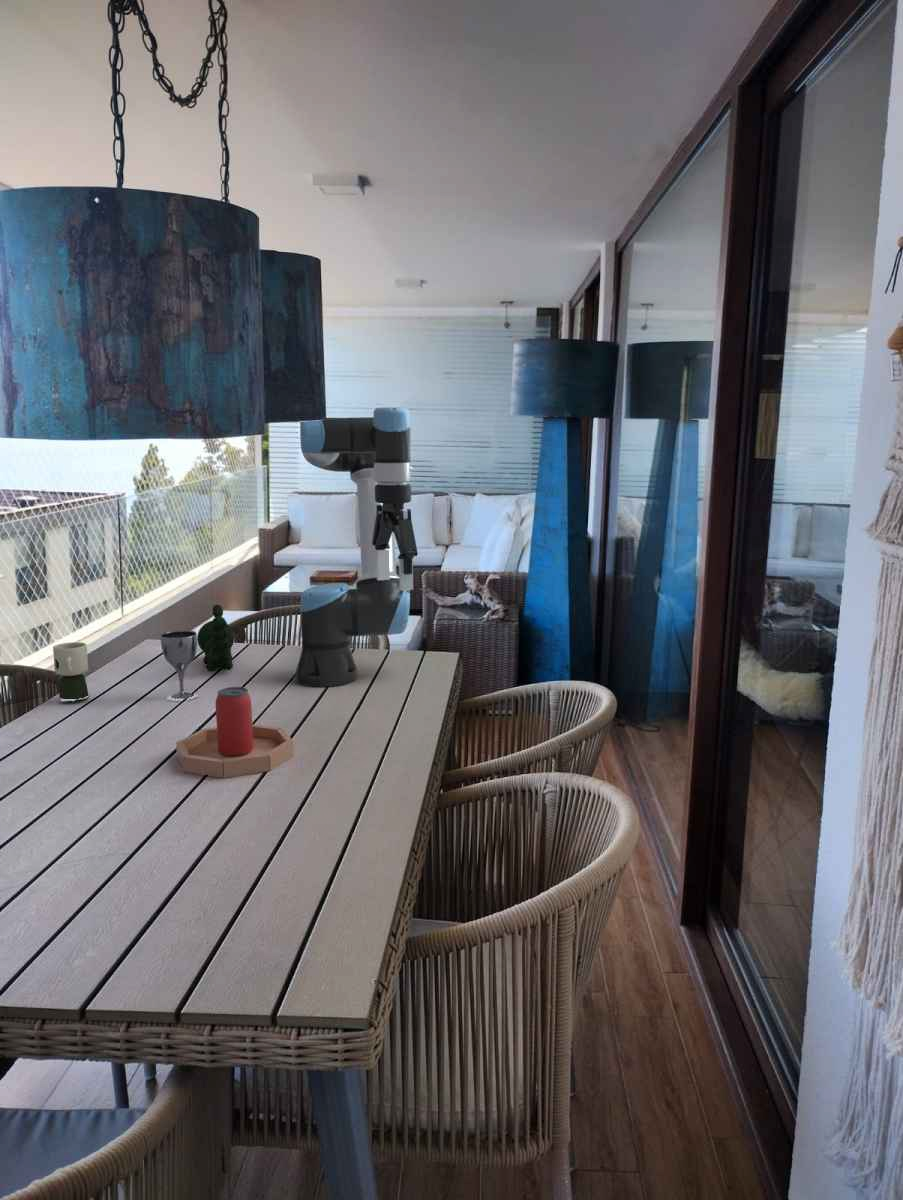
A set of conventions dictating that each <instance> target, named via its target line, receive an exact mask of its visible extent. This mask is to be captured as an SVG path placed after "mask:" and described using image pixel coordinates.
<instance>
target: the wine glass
mask: <svg viewBox="0 0 903 1200" xmlns="http://www.w3.org/2000/svg"><path fill="white" fill-rule="evenodd" d="M197 636H198V633H197V632H196V631H195V630H188V629H185V630H183V629H181V630H179V629H178V630H170V631H166V632H162V633H160V644H161V650H162V654H163V657H164V659H165V661H166V662H167V663H168V664H169V665H170V666H171V667H172V668H174V671H175V672H176V673H177V676H178V681H179V692H178V693H177V692H176V693H177V694H176V693H172V694H173V695H172V694H171V695H172V696H171V697H172V698H175V699H176V698H177V699H179V698H180V699H181V698H183V699H186V698H189V697H192V696H194V694H192V693H193V692H185V691H184V690H185V688H184V677H185V672H186V670H187V668H188V666H190V664H191V663H192V662H193V660H194V658H195V656H196V652H197V647H198V646H197V645H198V640H197Z"/></svg>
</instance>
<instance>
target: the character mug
mask: <svg viewBox="0 0 903 1200" xmlns="http://www.w3.org/2000/svg"><path fill="white" fill-rule="evenodd" d="M52 651H53V652H52V653H53V664H54V665H53V666H54V673H55V674H56V675H59V676H61V677H60V680H59V696H58V697H60V698H61V699H62V698H63V699H79V698H84V697H86V696H88V695H89V690H88V685H87V681H86V676H85V675H84V674H85V673H86V674H87V672H89V660H88V659H89V658H88V647H87V643H85V642H78V641H77V642H73V641H71V642H63V643H58V644H56V645H53V646H52Z"/></svg>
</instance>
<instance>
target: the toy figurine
mask: <svg viewBox="0 0 903 1200" xmlns="http://www.w3.org/2000/svg"><path fill="white" fill-rule="evenodd" d="M223 614H224V609H223V607H222V605H220V604H218V603H217V604H214V605H213V606H212V615H213V617H214V618H213V619H212V620H209V621H207V622H206V623H204V624H203V625H201V627H200V628H199V630H198V632H197V645H198V646H199V648H200V650H201V651H202V652H203V653H204V657H203V660H202V662H203V664H204V665H205V668H206V670H207V671H209V670H211V671H210V672H214V671H216V670H217V669H218V670H219V669H221V670H223V669H225V670H228V671H229V670H231V669H232V668H233V667H234V663H233V659H234V658H233V656H232V647H233V646H234V644H235V643H234V641H235V634H234V631H233V628H232V627H231V626H230V625H229V624H228V622H227V621H226V618H225V617H223Z"/></svg>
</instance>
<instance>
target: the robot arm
mask: <svg viewBox="0 0 903 1200" xmlns="http://www.w3.org/2000/svg"><path fill="white" fill-rule="evenodd" d="M410 413H411V412H410V410H409V409H408V408H407V407H400V406H399V407H397V406H396V407H393V406H391V407H385V406H384V407H376V408H375V409H374V410H373V417H370V416H369V417H368V416H367V417H366V416H365V417H364V416H363V417H355V416H354V417H324V418H325V419H324V420H319V421H307V422H299V424H300V425H299V433H300V434H299V437H300V449H301V453H302V456H303V458H304V459H305V461H306V462H308V463H309V464H311V465H312V466H314V467H317V468H319V469H321V470H325V471H329V472H336V473H337V472H341V473H342V472H343V473H347V472H349V474H350V476H349V477H350V480H351V481H352V482H353V483H354V484H355V485H356V493H357V494H356V495H357V510H358V512H357V513H358V527H359V529H358V530H359V531H358V532H359V545H360V547H359V548H360V550H359V551H360V564H361V576H360V577H359V578H358V579H357V580H356V582H355V584H356V586H355V588H351V589H350V587H349V585H348V584H347V583H345V582H330V583H324V584H320V585H319V584H317V585H315V586H312V587H309V588H307V589H305V590H304V591H303V592H302V593H301V595H300V608H299V612H300V615H301V616H300V621H301V627H300V628H301V651H300V655H299V659H298V662H297V664H296V665H297V666H296V669H295V681H296V682H297V683H298V684H300V683H301V685H304V686H308V685H309V686H310V687H336V686H341V685H347V684H350V683H353V682H355V681H356V680H357V679H358V677H359V676H358V667H357V664H356V661H355V658H354V656H353V653H352V650H351V646H350V637H368V636H370V637H372V636H386V637H388V636H391V635H400V634H403V633H404V632H405V631H406V629H407V626H408V623H409V618H410V617H409V616H410V608H411V607H410V606H411V604H410V603H411V590H412V591H413V590H414V564H413V563H414V558H415V557H417V556H418V555H419V554H418V553H419V552H418V548H417V542H416V537H415V533H414V532H415V531H414V527H413V521H412V510H411V508H405V506H404V505H405V503H407V504H408V503H410V502H411V501H412V485H411V484H409V482H410V481H411V480H412V476H411V475H412V474H411V472H412V471H413V466H411V464H412V463H411V461H412V460H411V426H412V421H411V416H410V415H411V414H410ZM395 541H396V545H397V548H398V551H399V554H398V557H397V559H398V573H397V566H396V547H395Z"/></svg>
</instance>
